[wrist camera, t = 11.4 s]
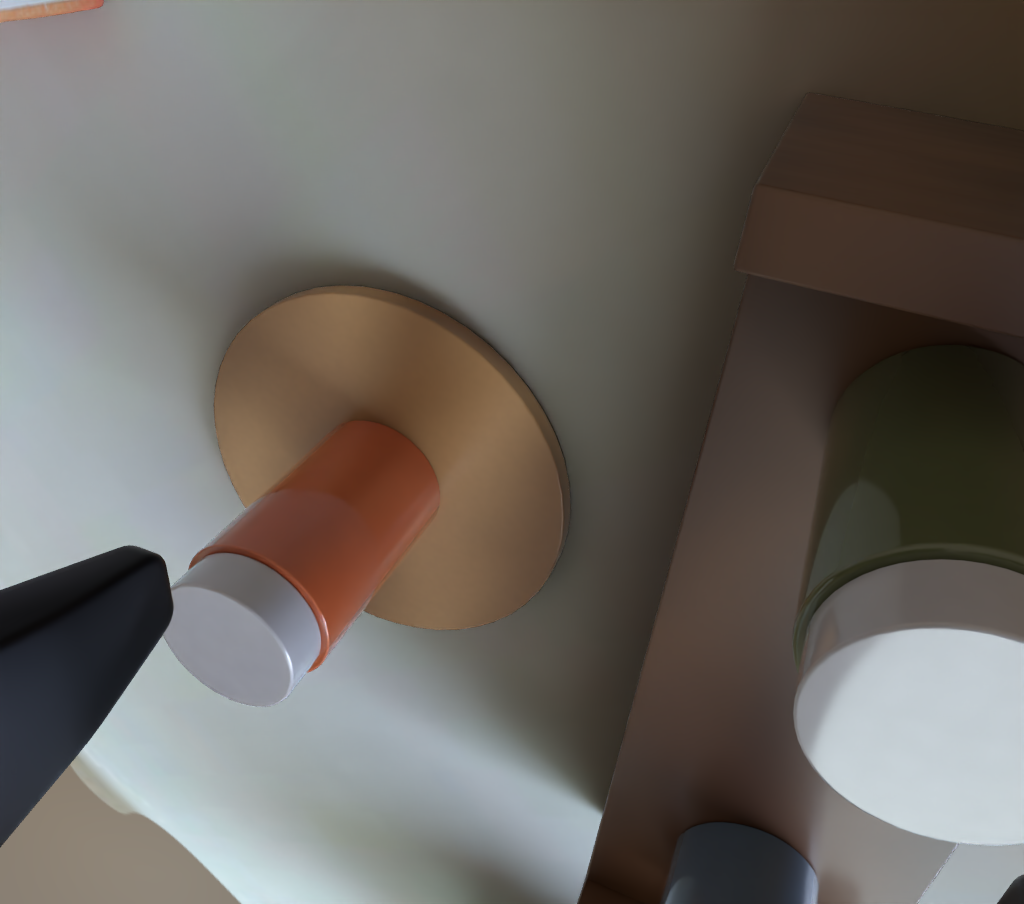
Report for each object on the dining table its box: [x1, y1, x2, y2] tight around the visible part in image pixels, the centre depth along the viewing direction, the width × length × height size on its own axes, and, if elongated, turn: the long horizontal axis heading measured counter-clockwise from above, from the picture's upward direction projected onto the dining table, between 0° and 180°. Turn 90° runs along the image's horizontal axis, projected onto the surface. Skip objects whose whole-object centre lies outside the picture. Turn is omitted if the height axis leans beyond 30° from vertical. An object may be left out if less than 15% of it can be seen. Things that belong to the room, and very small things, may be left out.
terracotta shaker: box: [163, 420, 440, 707], centre depth 22 cm, size 4×4×7 cm
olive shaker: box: [792, 345, 1024, 846], centre depth 13 cm, size 4×4×7 cm
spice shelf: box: [577, 93, 1024, 904], centre depth 19 cm, size 8×23×6 cm, turn 174°
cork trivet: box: [214, 285, 571, 630], centre depth 25 cm, size 11×11×1 cm
